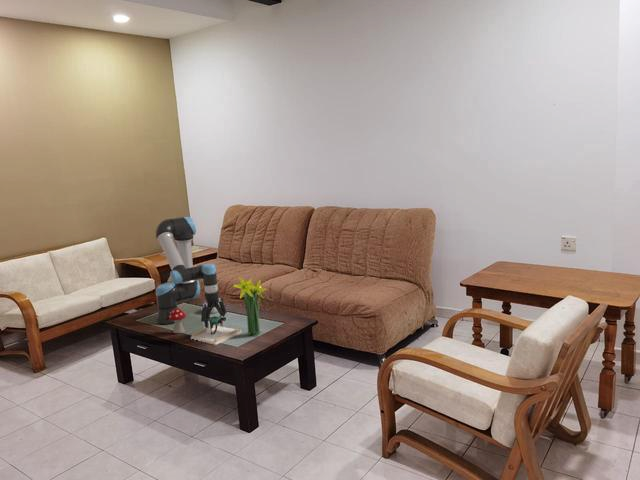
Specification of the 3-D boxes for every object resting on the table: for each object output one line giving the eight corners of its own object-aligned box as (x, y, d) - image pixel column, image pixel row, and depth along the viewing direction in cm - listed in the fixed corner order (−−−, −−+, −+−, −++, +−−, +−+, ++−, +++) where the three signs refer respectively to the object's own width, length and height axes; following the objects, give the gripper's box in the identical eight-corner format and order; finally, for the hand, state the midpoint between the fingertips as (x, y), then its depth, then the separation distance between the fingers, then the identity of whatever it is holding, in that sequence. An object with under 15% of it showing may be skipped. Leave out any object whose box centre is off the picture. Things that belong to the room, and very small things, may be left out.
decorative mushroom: (190, 330, 302) (187, 306, 299) (183, 335, 294) (180, 310, 291) (174, 330, 304) (171, 306, 301) (167, 335, 295) (164, 311, 293)
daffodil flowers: (258, 327, 298) (252, 269, 293) (274, 332, 288) (269, 272, 282) (235, 336, 287) (228, 275, 281) (251, 341, 276) (245, 279, 271)
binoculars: (222, 336, 284) (220, 318, 282) (204, 335, 286) (202, 318, 284) (228, 330, 292) (226, 313, 290) (211, 330, 294) (209, 313, 293)
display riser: (190, 339, 287) (190, 334, 286) (217, 328, 303) (216, 323, 302) (215, 344, 275) (215, 340, 275) (241, 332, 291) (240, 328, 291)
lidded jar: (210, 309, 342) (208, 296, 340) (225, 309, 339) (223, 295, 338) (203, 314, 331) (201, 300, 330) (218, 314, 329) (217, 300, 327)
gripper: (200, 297, 273) (205, 337, 277) (230, 287, 291) (234, 324, 295) (191, 296, 278) (195, 335, 282) (221, 285, 296) (225, 322, 299)
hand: (215, 329), depth 288 cm, fingers closed on binoculars, 10 cm apart
